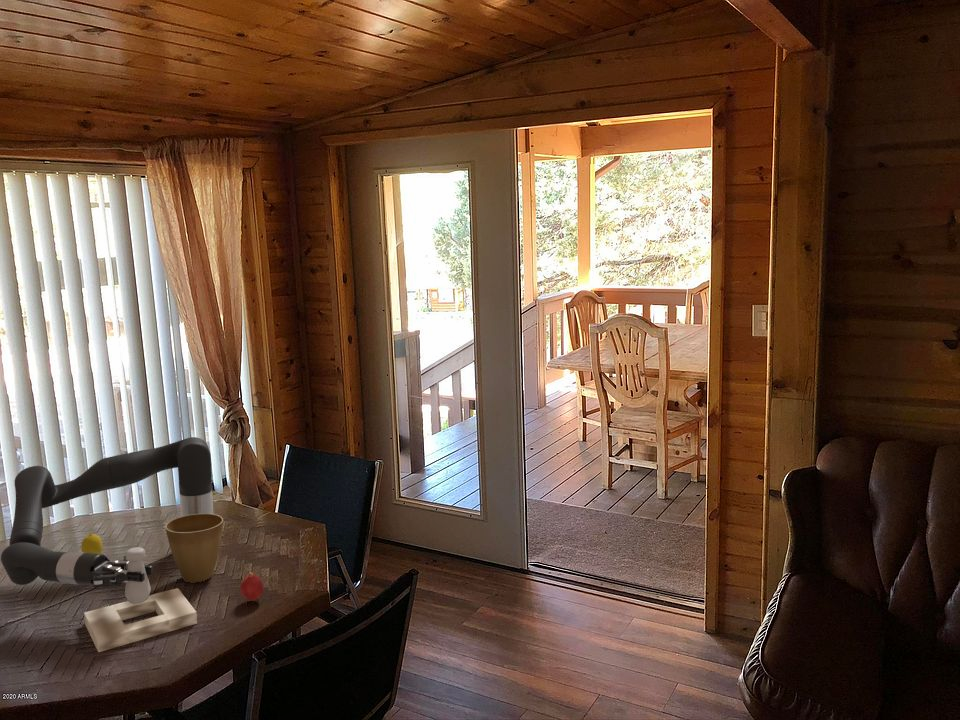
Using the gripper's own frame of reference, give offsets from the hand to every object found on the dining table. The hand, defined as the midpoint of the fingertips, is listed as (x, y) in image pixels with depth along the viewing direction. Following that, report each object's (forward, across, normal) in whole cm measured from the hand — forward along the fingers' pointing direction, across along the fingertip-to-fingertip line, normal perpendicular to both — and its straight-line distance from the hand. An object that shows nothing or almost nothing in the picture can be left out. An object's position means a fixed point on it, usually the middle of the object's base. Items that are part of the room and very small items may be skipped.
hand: (147, 573), depth 184 cm
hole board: (-3, 0, +13) cm, 13 cm away
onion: (+19, +15, +13) cm, 28 cm away
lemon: (-38, +33, +14) cm, 52 cm away
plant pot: (-2, +26, +13) cm, 30 cm away
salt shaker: (-3, 0, +7) cm, 8 cm away
